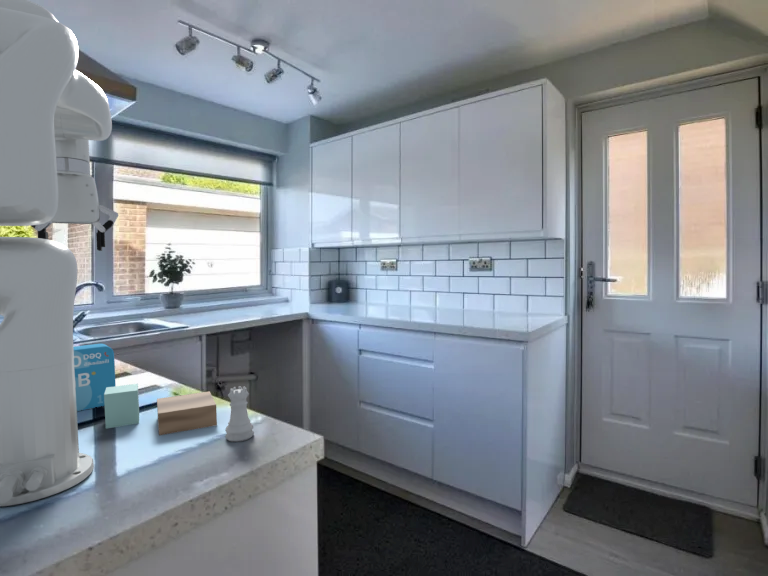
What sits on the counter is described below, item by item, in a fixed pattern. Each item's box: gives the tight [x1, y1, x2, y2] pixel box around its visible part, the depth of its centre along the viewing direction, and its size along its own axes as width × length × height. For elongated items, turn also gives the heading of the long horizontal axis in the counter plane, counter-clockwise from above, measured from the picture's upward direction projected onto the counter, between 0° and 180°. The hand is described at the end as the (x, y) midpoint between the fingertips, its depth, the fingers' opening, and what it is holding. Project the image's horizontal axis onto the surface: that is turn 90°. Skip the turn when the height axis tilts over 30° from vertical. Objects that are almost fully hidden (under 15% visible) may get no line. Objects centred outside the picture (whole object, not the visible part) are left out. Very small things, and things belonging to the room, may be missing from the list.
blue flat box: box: [73, 343, 117, 412], centre depth 87 cm, size 12×4×12 cm, turn 133°
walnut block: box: [156, 391, 218, 436], centre depth 79 cm, size 9×9×4 cm
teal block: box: [104, 383, 140, 429], centre depth 79 cm, size 5×5×6 cm
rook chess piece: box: [224, 385, 255, 443], centre depth 71 cm, size 4×4×8 cm
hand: (73, 250), depth 95 cm, fingers open, 9 cm apart
